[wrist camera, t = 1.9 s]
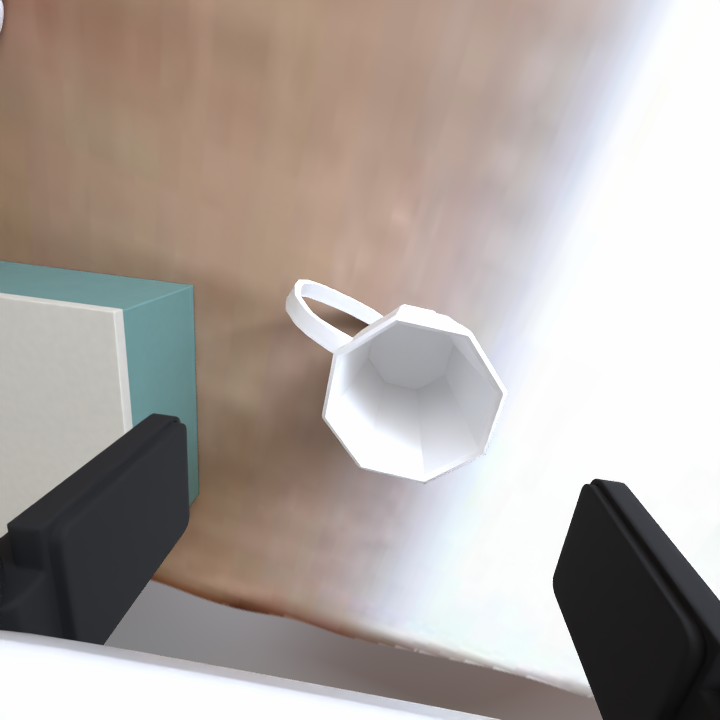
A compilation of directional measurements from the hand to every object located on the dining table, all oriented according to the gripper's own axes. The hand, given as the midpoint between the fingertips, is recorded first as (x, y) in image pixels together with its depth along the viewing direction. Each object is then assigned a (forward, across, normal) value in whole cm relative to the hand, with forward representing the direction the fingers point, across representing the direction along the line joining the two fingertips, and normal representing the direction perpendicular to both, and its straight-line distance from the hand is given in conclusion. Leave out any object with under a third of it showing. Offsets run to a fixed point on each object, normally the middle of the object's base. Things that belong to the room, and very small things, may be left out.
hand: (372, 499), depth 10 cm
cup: (+14, 0, 0) cm, 15 cm away
